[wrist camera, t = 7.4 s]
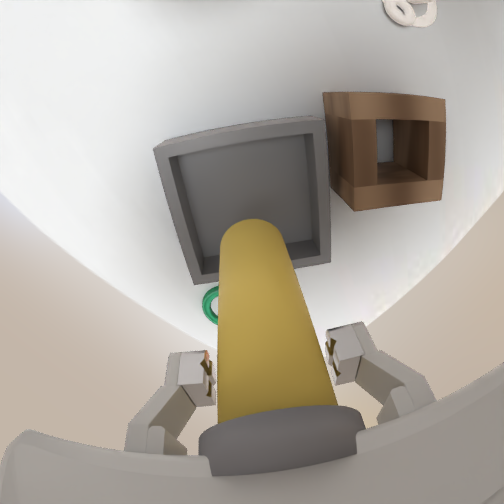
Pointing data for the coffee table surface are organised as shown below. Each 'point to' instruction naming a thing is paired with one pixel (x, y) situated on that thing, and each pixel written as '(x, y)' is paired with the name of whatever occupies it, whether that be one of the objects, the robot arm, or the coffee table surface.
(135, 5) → the coffee table surface
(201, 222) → the tray
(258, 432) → the peg
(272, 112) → the coffee table surface
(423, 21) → the teacup and saucer
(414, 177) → the holder
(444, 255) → the coffee table surface
